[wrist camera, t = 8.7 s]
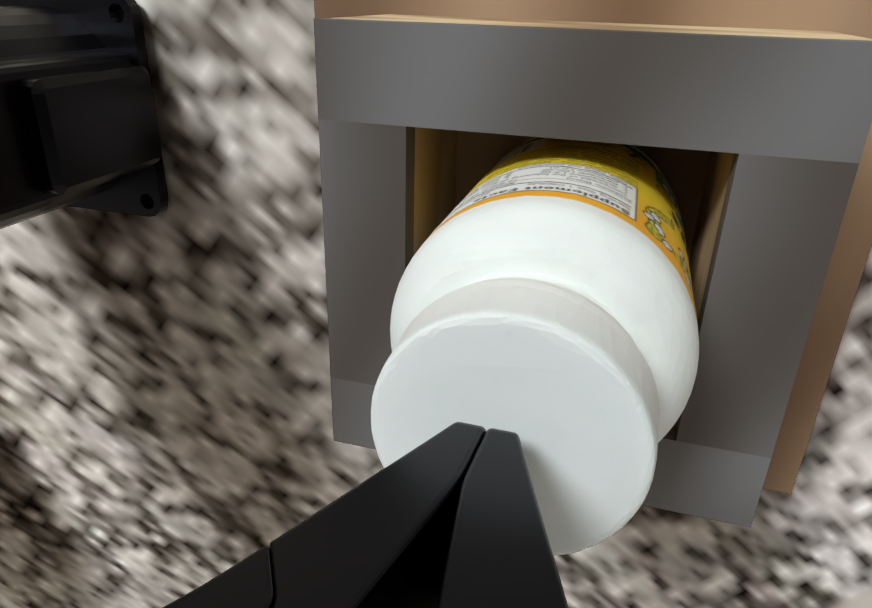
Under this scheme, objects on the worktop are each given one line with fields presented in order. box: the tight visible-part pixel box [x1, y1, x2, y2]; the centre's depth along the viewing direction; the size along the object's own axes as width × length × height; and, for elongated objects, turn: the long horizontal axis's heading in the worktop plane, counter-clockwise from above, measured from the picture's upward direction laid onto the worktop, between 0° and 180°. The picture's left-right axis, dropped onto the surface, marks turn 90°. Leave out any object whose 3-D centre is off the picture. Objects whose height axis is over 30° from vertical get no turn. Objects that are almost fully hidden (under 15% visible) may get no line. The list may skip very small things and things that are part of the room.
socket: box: [314, 0, 872, 528], centre depth 16 cm, size 14×14×5 cm
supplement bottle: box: [371, 137, 699, 556], centre depth 13 cm, size 5×5×10 cm
